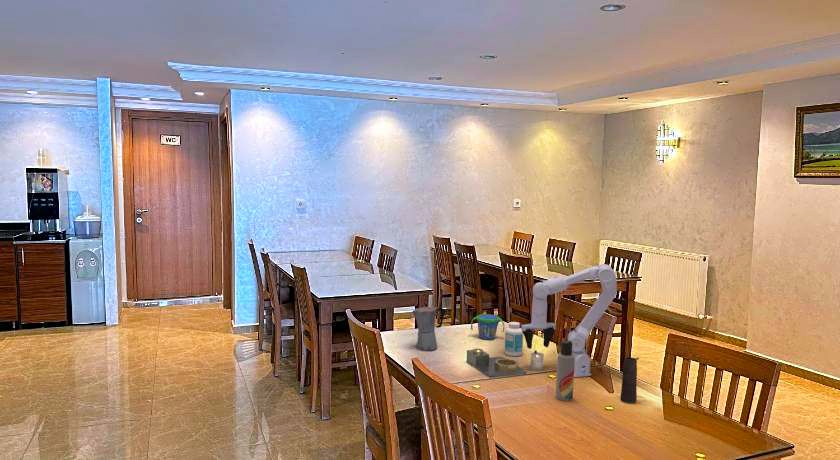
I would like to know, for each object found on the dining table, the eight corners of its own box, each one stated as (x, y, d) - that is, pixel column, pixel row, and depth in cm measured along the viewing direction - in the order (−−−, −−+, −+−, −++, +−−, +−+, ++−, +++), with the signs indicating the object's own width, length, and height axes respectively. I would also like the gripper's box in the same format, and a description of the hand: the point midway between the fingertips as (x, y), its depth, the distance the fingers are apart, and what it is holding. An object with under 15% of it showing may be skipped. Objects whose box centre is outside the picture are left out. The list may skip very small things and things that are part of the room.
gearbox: (526, 373, 227) (527, 358, 227) (489, 377, 221) (490, 362, 221) (501, 358, 246) (501, 344, 245) (466, 361, 240) (467, 347, 239)
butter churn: (645, 398, 205) (650, 318, 202) (646, 407, 196) (651, 324, 193) (617, 394, 208) (622, 315, 205) (617, 403, 199) (621, 321, 196)
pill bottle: (521, 352, 256) (522, 321, 254) (522, 357, 248) (524, 325, 247) (504, 351, 256) (505, 320, 255) (504, 356, 249) (506, 324, 248)
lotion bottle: (573, 401, 199) (576, 343, 198) (555, 400, 200) (558, 342, 199) (572, 396, 205) (575, 339, 203) (555, 394, 206) (558, 338, 204)
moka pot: (406, 346, 259) (408, 301, 257) (438, 343, 265) (439, 299, 264) (415, 352, 250) (417, 306, 249) (448, 349, 257) (449, 303, 255)
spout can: (545, 370, 232) (546, 352, 231) (534, 371, 230) (535, 353, 230) (538, 366, 237) (539, 349, 236) (527, 367, 235) (528, 350, 234)
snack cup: (505, 336, 280) (506, 315, 279) (502, 342, 270) (503, 320, 269) (472, 333, 284) (473, 312, 283) (468, 339, 274) (469, 317, 273)
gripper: (549, 310, 238) (547, 343, 239) (517, 312, 233) (516, 345, 234) (559, 314, 231) (557, 348, 232) (527, 316, 226) (525, 351, 227)
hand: (537, 347), depth 233 cm, fingers open, 7 cm apart
